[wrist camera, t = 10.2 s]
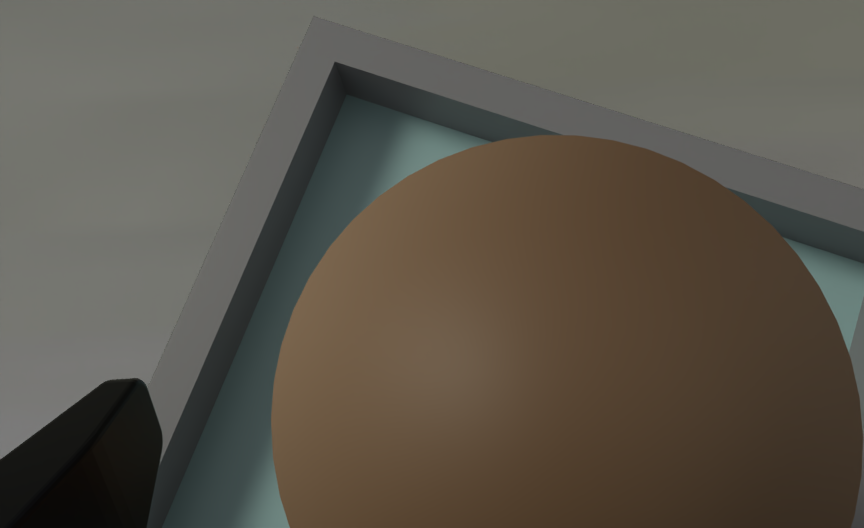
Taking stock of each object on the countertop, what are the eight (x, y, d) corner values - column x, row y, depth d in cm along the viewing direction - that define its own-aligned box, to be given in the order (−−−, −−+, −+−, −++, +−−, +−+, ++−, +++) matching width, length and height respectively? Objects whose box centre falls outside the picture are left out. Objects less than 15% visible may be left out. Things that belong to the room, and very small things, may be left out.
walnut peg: (615, 389, 18) (924, 236, 6) (559, 564, 17) (771, 841, 5) (449, 329, 19) (394, 68, 6) (388, 496, 18) (176, 588, 5)
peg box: (863, 270, 19) (965, 221, 15) (704, 872, 16) (777, 1005, 12) (344, 101, 20) (313, 16, 16) (124, 617, 18) (25, 662, 14)
